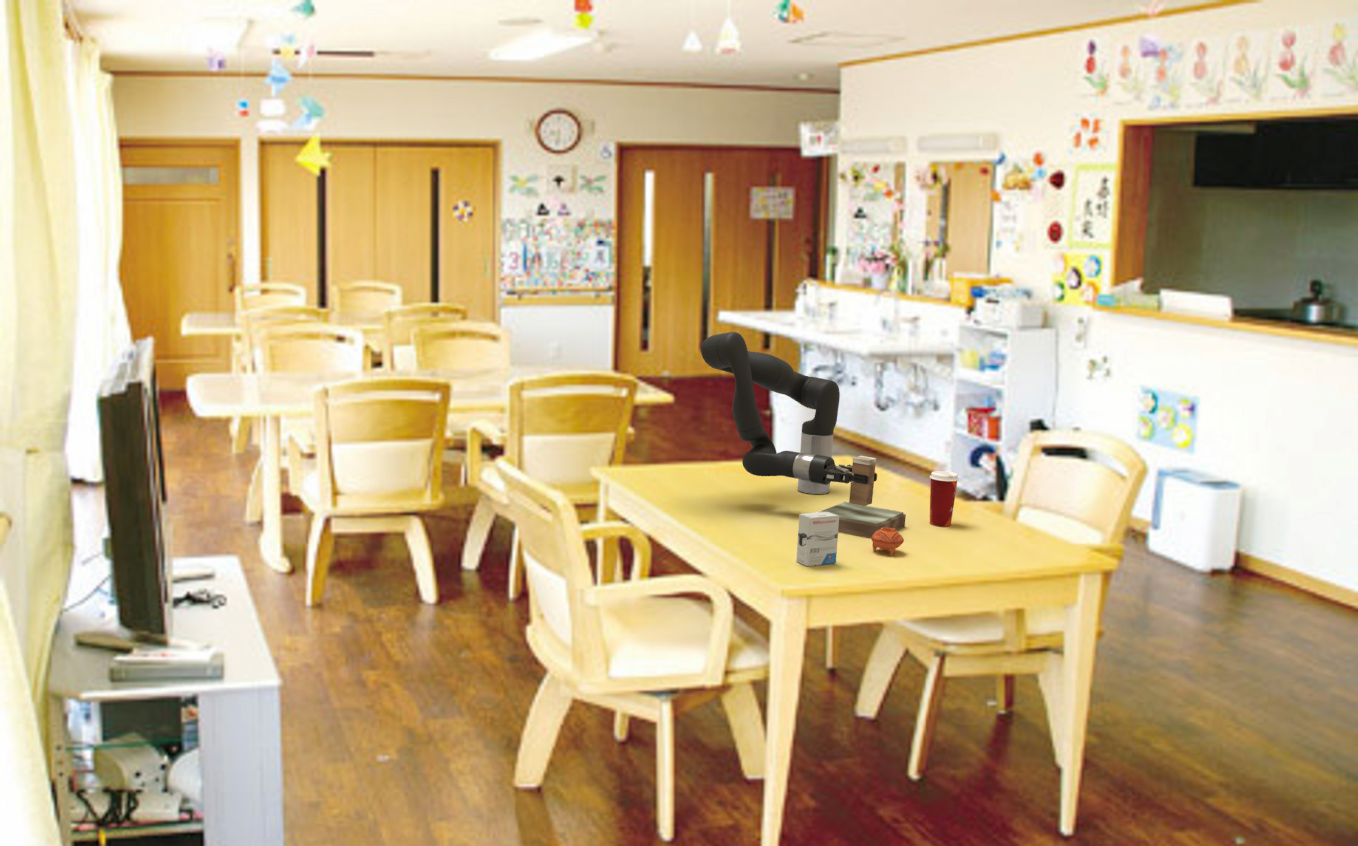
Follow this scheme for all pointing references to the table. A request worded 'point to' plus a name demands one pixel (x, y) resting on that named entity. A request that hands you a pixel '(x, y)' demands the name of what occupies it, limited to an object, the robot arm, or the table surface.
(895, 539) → the pot
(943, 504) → the paper cup
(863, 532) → the block
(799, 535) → the ink box
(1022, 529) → the table surface
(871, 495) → the block
